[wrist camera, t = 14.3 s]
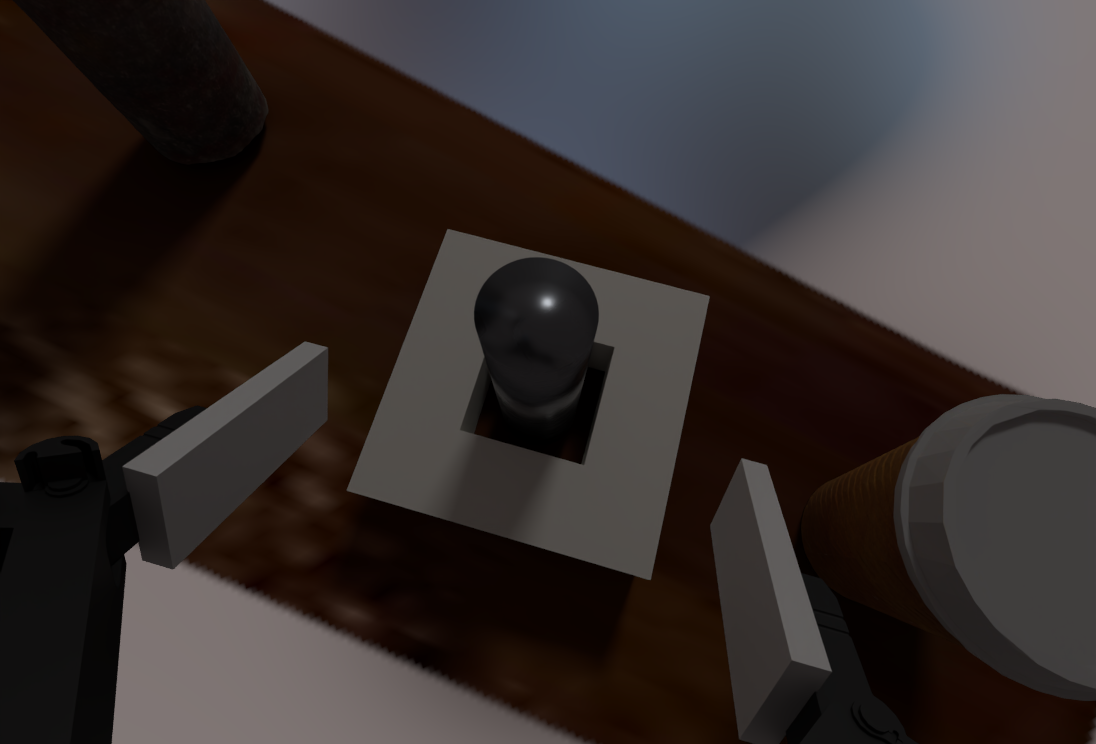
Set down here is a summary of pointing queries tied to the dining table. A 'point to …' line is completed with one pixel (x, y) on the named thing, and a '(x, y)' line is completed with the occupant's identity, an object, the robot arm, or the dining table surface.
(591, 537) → the hole block
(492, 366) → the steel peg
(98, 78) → the candle
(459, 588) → the dining table surface
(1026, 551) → the disposable coffee cup
